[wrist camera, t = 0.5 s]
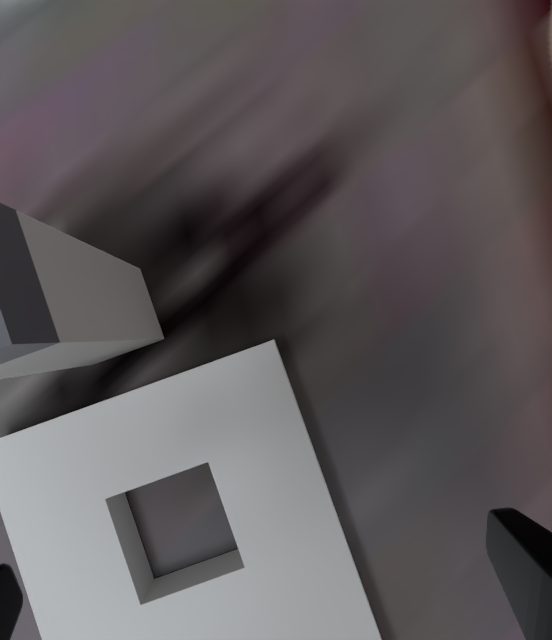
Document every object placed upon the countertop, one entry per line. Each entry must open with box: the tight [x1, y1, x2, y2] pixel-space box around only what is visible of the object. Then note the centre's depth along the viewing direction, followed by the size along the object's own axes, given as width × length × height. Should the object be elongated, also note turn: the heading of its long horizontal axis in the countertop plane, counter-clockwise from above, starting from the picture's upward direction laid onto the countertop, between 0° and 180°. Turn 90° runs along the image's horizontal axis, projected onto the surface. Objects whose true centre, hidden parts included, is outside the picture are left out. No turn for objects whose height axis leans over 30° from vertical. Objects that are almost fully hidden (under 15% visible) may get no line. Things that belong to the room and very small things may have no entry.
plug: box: [0, 203, 164, 379], centre depth 15 cm, size 4×4×12 cm
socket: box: [0, 339, 382, 640], centre depth 20 cm, size 17×15×2 cm
